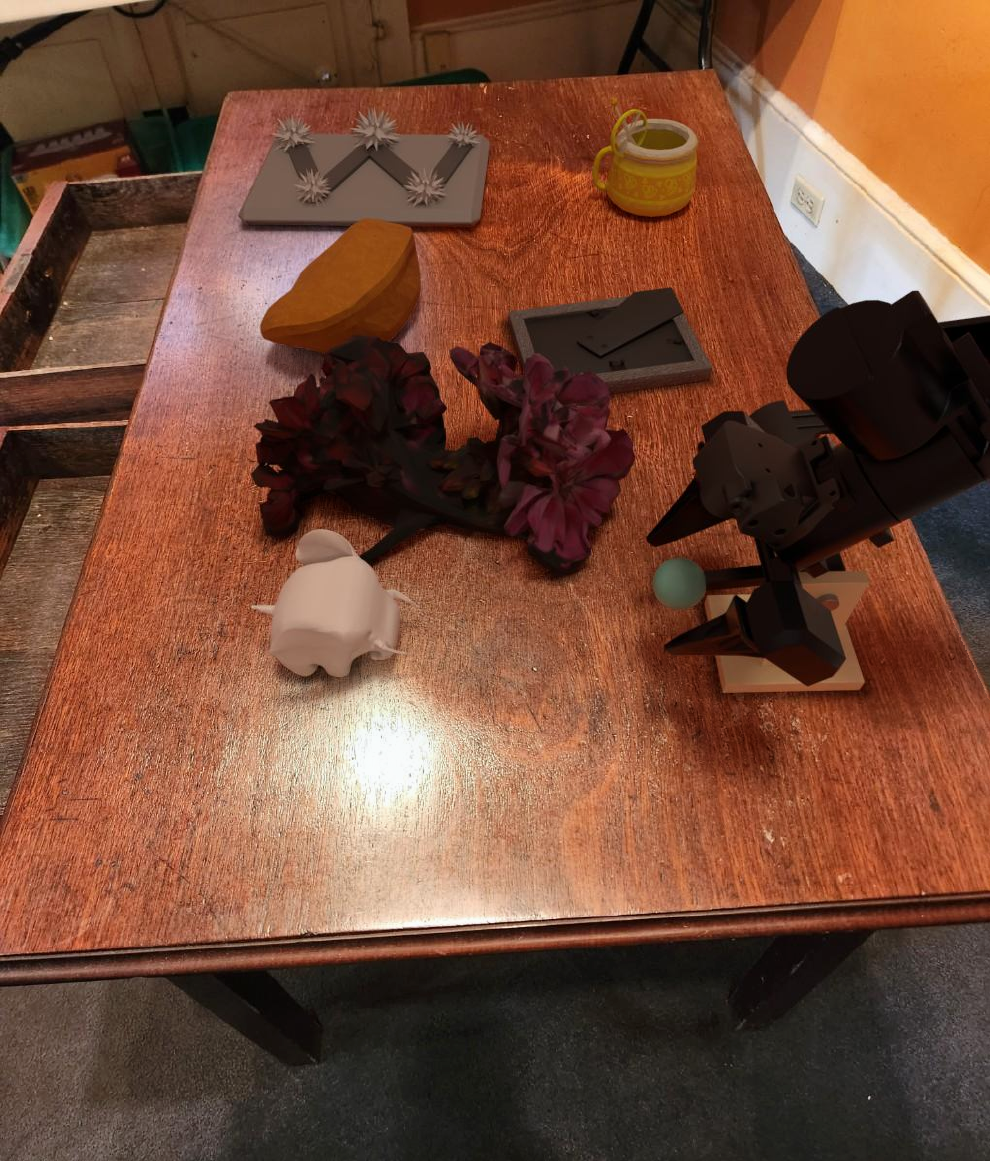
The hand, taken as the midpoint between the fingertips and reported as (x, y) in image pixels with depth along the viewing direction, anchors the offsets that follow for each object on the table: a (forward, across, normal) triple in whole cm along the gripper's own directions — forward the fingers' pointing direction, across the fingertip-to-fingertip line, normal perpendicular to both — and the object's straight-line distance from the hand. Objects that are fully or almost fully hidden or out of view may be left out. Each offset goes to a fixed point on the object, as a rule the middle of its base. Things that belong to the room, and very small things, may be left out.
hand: (658, 594), depth 54 cm
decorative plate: (+24, -72, -14) cm, 77 cm away
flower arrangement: (+16, -17, -6) cm, 24 cm away
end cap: (-5, -15, +15) cm, 22 cm away
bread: (+24, -42, -14) cm, 51 cm away
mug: (0, -66, +10) cm, 67 cm away
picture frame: (+5, -36, +5) cm, 37 cm away
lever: (-4, 0, +4) cm, 6 cm away
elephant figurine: (+22, -1, -11) cm, 24 cm away
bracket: (-2, 0, +12) cm, 12 cm away
